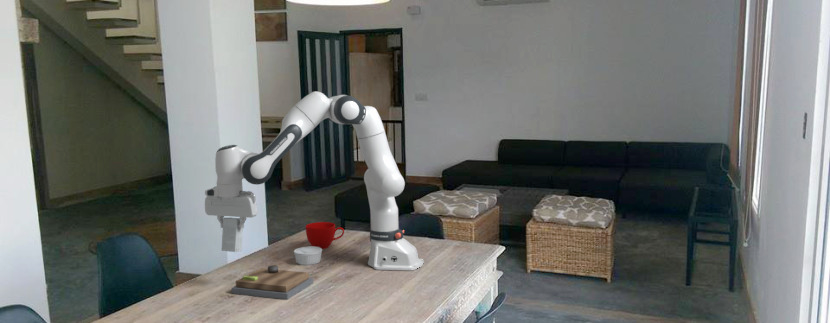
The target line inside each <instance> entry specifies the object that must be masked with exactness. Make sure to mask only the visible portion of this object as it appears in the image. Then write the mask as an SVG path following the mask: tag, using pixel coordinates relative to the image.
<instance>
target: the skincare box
mask: <svg viewBox="0 0 830 323" xmlns="http://www.w3.org/2000/svg"><path fill="white" fill-rule="evenodd" d="M240 222H241V220H240V217H232V216H227V217H224V218H223V228H222V235H221V252H230V253H237V252H241V251H242V250H243V231H244V228H243V229H238V224H240Z"/></svg>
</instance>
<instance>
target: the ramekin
mask: <svg viewBox="0 0 830 323" xmlns="http://www.w3.org/2000/svg"><path fill="white" fill-rule="evenodd" d="M322 252H323V249H322V248H320V247H314V246H312V245H310V246H309V245H308V246H302V247H299V248H296V249H294V251H293V253H294V257H295V262H296V263H297V264H298V265H300V266H313V265H316V264H318V263H320V261H322V260H321V259H322Z"/></svg>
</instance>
